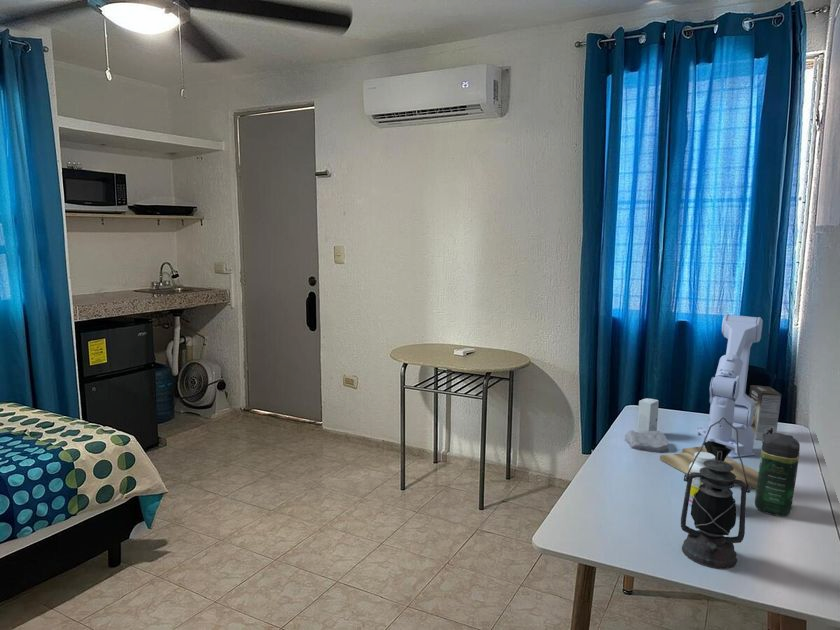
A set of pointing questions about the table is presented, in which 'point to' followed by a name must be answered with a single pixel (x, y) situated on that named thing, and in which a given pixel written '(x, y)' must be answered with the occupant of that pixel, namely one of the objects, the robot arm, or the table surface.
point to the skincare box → (647, 415)
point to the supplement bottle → (695, 468)
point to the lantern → (714, 513)
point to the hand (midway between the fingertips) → (715, 469)
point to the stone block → (647, 441)
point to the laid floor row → (738, 470)
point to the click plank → (680, 461)
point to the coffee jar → (777, 474)
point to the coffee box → (765, 410)
